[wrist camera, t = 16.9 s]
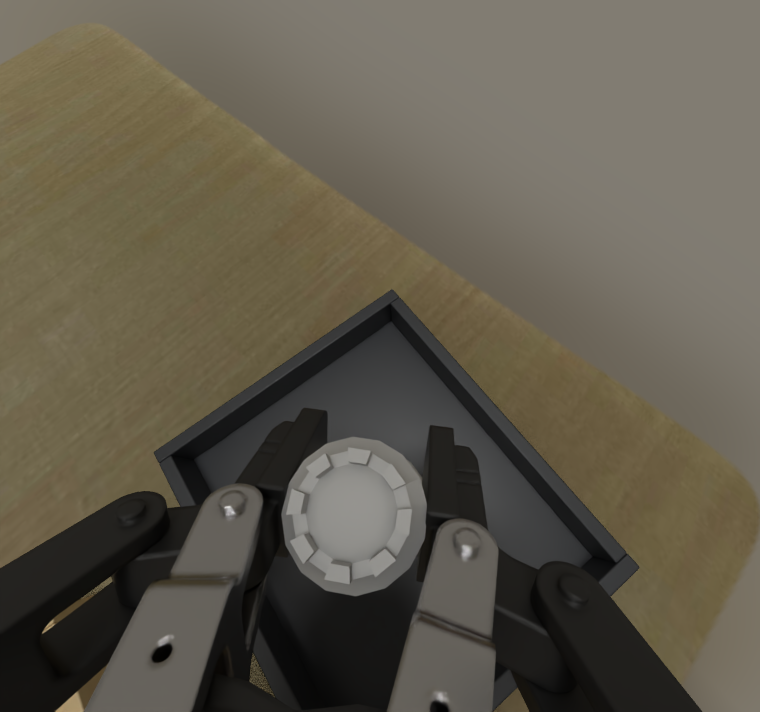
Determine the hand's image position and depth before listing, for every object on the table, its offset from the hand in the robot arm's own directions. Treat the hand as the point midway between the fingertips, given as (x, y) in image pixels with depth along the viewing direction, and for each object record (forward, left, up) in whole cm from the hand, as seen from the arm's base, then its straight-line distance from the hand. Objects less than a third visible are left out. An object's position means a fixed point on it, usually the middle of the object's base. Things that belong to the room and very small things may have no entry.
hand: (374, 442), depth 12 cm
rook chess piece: (-1, +1, -4) cm, 5 cm away
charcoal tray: (-1, +1, -7) cm, 7 cm away
